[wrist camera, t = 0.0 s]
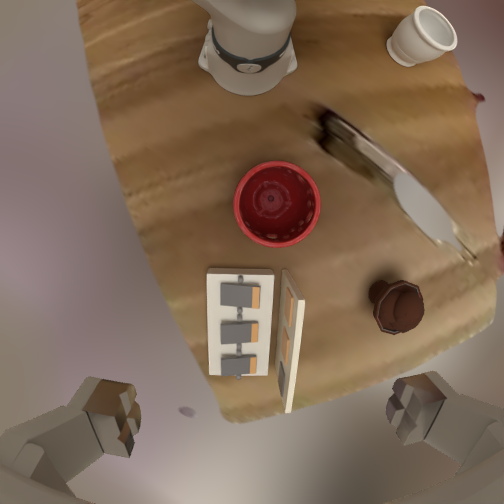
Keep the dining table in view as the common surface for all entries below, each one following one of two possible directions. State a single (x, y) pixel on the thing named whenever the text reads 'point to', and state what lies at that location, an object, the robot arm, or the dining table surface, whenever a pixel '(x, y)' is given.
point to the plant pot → (276, 204)
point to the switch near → (240, 295)
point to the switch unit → (287, 325)
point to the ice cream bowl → (396, 306)
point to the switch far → (238, 365)
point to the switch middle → (239, 332)
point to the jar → (421, 37)
